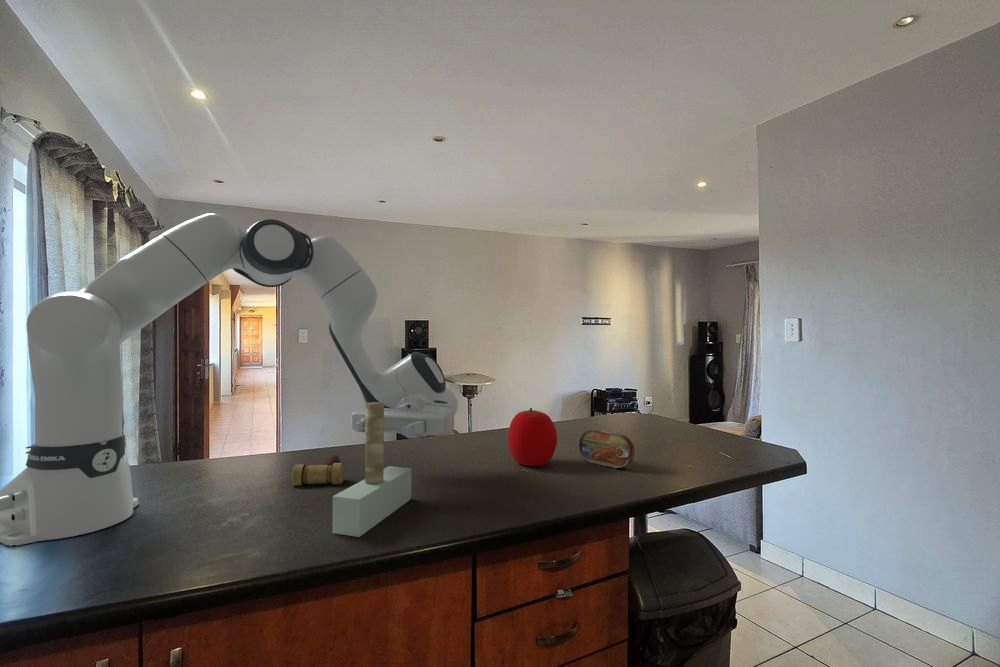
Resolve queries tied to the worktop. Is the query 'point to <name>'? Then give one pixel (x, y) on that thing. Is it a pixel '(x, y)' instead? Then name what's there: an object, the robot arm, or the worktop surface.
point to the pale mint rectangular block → (370, 502)
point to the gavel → (319, 473)
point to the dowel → (374, 443)
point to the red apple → (532, 438)
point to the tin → (607, 447)
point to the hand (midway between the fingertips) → (381, 429)
